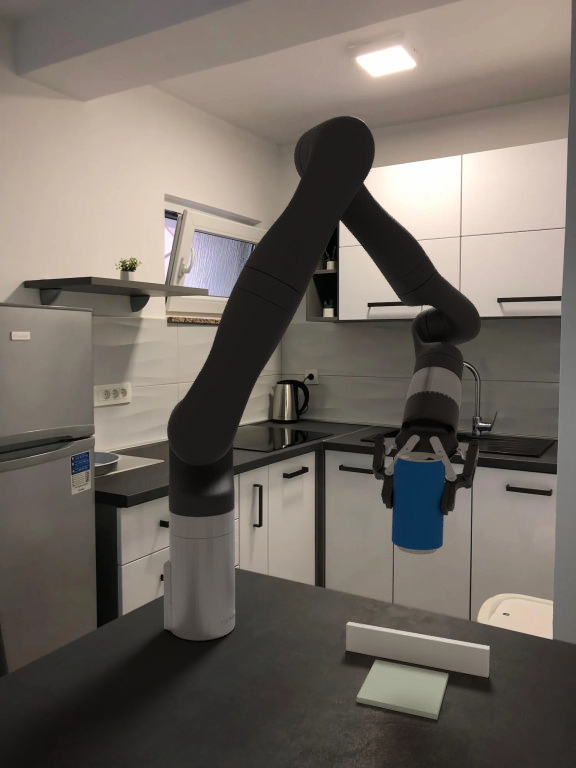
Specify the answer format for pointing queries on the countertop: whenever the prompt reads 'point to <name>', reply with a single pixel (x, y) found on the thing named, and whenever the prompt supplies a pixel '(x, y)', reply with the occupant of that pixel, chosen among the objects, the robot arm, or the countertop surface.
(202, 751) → the countertop surface
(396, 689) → the mat
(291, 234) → the robot arm
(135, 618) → the countertop surface
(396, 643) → the low wall
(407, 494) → the beverage can
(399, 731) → the countertop surface
